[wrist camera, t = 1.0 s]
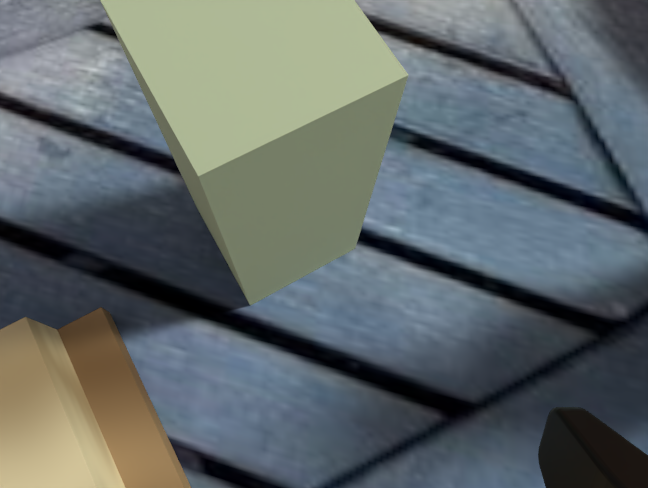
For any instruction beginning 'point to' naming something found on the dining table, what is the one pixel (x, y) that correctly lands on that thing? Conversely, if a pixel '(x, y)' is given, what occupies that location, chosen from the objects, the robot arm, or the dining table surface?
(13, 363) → the birch ridge
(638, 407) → the dining table surface
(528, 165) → the dining table surface
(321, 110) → the sage post
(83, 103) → the dining table surface
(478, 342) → the dining table surface
